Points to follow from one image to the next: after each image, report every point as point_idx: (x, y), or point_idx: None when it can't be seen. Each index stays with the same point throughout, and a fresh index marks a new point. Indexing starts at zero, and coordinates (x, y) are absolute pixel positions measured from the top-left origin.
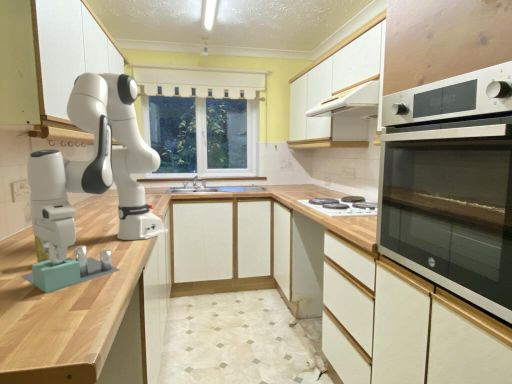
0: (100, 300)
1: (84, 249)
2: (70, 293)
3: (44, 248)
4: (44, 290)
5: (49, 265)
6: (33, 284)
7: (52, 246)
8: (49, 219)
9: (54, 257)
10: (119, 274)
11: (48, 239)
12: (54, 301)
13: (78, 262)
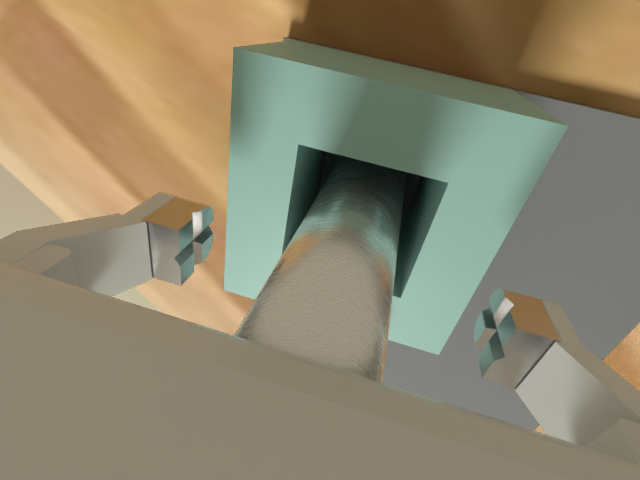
0: (39, 125)
1: None
2: (209, 119)
3: (544, 332)
4: (314, 45)
5: (428, 212)
6: (514, 90)
7: (260, 307)
8: None
9: (297, 233)
10: (231, 330)
11: (162, 362)
12: (176, 7)
13: (224, 285)
